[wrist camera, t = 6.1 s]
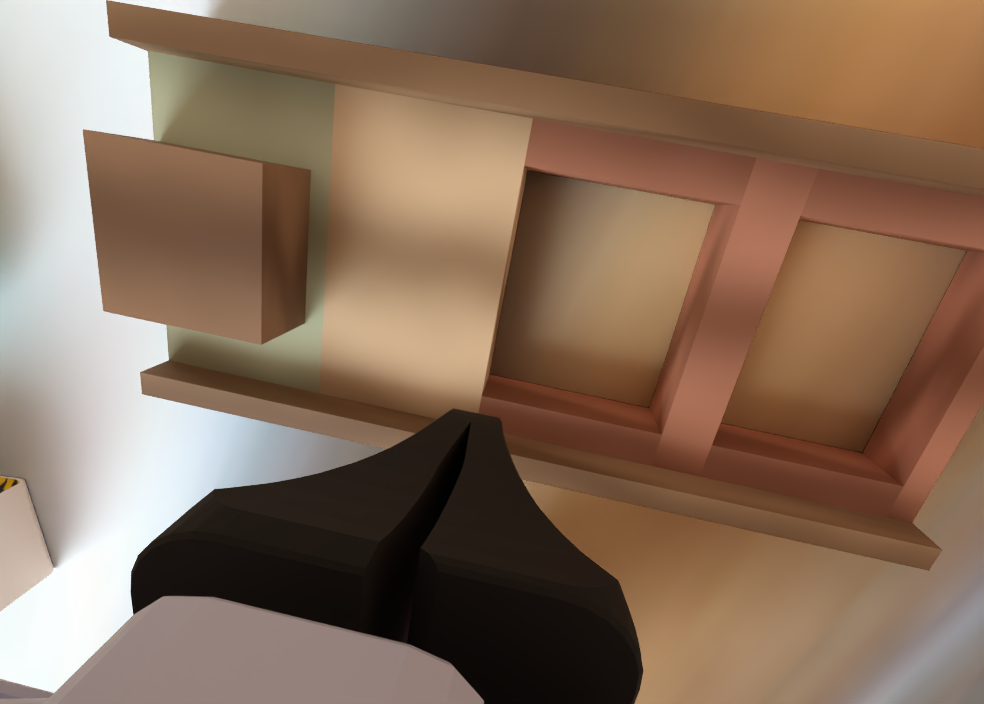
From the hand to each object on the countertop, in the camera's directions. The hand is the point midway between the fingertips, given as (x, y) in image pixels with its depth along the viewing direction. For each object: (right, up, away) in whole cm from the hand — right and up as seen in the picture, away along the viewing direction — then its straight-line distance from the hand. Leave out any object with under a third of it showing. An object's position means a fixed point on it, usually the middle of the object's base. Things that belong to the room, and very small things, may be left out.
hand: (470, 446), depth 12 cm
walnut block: (-10, +7, +6) cm, 13 cm away
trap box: (+3, +5, +8) cm, 10 cm away
